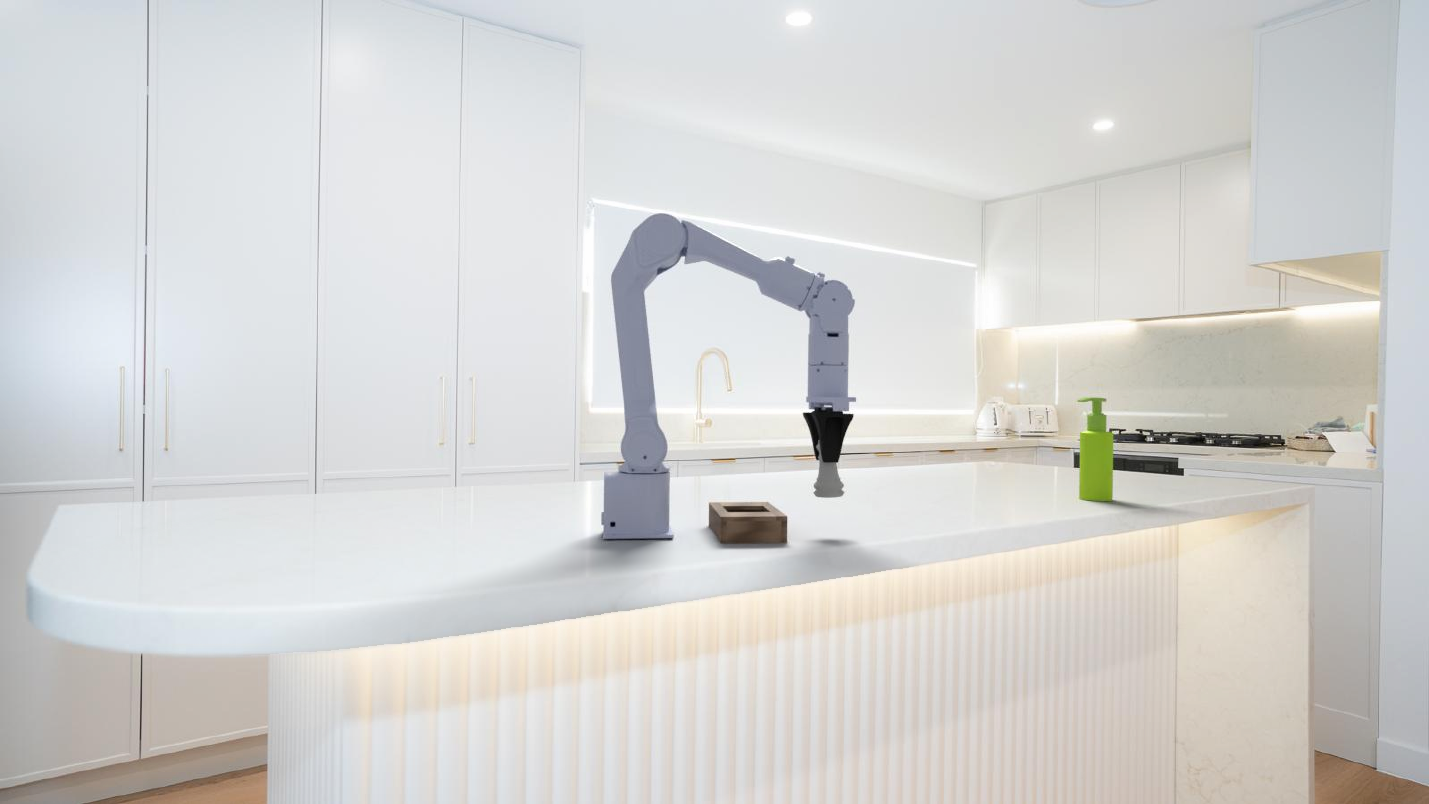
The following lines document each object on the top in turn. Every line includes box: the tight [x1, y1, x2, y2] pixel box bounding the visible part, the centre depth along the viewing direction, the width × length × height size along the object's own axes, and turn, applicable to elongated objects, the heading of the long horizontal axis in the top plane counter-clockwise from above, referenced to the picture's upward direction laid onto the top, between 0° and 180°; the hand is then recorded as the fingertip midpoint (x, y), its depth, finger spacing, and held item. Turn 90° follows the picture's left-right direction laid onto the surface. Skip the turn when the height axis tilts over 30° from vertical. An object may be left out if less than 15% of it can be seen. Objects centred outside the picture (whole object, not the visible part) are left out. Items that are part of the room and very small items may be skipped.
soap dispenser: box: [1077, 397, 1114, 502], centre depth 152 cm, size 6×7×20 cm
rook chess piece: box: [812, 440, 845, 499], centre depth 110 cm, size 4×4×8 cm
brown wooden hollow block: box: [708, 501, 788, 544], centre depth 110 cm, size 9×14×4 cm, turn 7°
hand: (826, 461), depth 110 cm, fingers closed on rook chess piece, 3 cm apart
